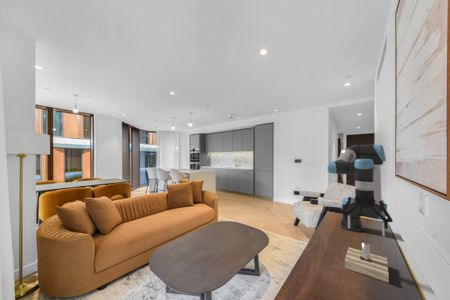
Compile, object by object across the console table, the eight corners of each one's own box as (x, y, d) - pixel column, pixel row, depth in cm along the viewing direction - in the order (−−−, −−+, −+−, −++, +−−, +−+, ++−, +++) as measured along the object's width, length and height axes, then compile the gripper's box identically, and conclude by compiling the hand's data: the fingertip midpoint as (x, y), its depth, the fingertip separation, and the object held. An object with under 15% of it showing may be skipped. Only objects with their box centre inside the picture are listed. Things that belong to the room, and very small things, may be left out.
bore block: (348, 254, 99) (348, 247, 99) (387, 266, 89) (386, 258, 89) (344, 268, 87) (344, 259, 87) (388, 283, 77) (388, 274, 77)
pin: (362, 262, 90) (361, 241, 91) (370, 265, 88) (369, 243, 89) (361, 265, 88) (361, 243, 88) (370, 268, 86) (369, 245, 86)
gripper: (334, 187, 95) (335, 226, 94) (399, 194, 78) (400, 241, 78) (336, 185, 100) (337, 222, 100) (397, 191, 84) (399, 235, 83)
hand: (365, 231), depth 89 cm, fingers open, 13 cm apart
